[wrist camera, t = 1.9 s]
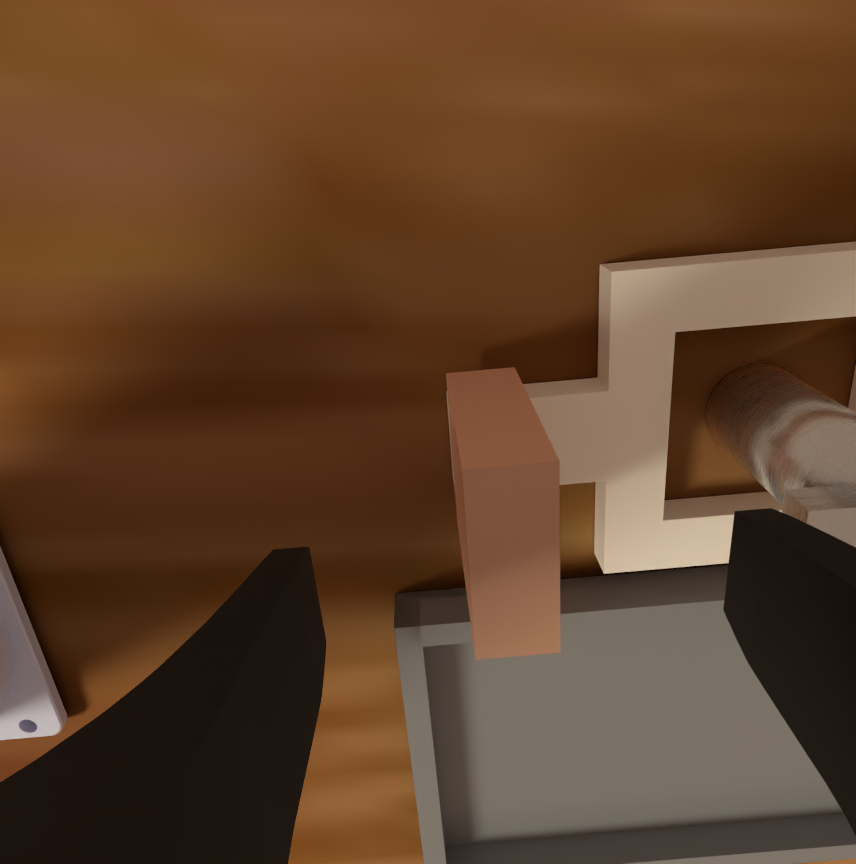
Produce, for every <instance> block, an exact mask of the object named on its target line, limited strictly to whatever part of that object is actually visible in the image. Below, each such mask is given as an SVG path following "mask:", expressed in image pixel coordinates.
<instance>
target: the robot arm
mask: <svg viewBox="0 0 856 864" xmlns="http://www.w3.org/2000/svg"><path fill="white" fill-rule="evenodd" d="M723 611H724V613H725V615H726V617H727V619H728V622H729V624H730V626H731V628H732V631H733V633H734V635H735V637H736V640H737V642H738V644H739V646H740V648H741V650H742V652H743V654H744V656H745V658H746V660H747V662H748V664H749V665H750V667H751V669H752V670H753V672H754V673H755V675H756V677H757V678H758V680H759V681H760V683H761V684H762V686H763V688H764V689H765V691H766V692H767V694H768V695H769V697H770V699H771V700H772V702H773V703H774V705H775V706H776V708H777V709H778V711H779V712H780V714H781V716H782V717H783V719H784V720H785V722H786V723H787V725H788V726H789V728H790V729H791V731H792V732H793V734H794V735H795V737H796V738H797V740H798V742H799V743H800V745H801V746H802V748H803V749H804V751H805V752H806V754H807V755H808V757H809V758H810V760H811V761H812V763H813V765H814V766H815V768H816V769H817V771H818V772H819V774H820V775H821V777H822V778H823V780H824V781H825V783H826V784H827V786H828V788H829V789H830V791H831V793H832V794H833V796H834V798H835V800H836V801H837V803H838V805H839V806H840V808H841V810H842V811H843V813H844V815H845V817H846V818H847V820H848V822H849V824H850V826H851V828H852V830H853V832H854V834H855V836H856V547H854V546H852V545H850V544H848V543H846V542H844V541H842V540H840V539H838V538H836V537H834V536H832V535H830V534H827V533H825V532H823V531H821V530H819V529H817V528H815V527H813V526H811V525H809V524H807V523H805V522H803V521H800V520H798V519H796V518H794V517H792V516H789V515H787V514H785V513H782V512H780V511H777V510H775V509H772V508H767V509H755V510H743V511H735V512H734V521H733V530H732V538H731V547H730V556H729V564H728V573H727V582H726V591H725V599H724V608H723ZM325 653H326V638H325V632H324V627H323V621H322V616H321V610H320V605H319V599H318V594H317V588H316V583H315V577H314V572H313V566H312V561H311V555H310V549H309V547H299V548H287V549H275V550H273V551H272V552H271V553H270V554H269V555H268V556H267V557H266V558H265V559H264V560H263V561H262V562H261V564H260V565H259V566H258V567H257V568H256V569H255V570H254V571H253V572H252V573H251V574H250V576H249V577H248V578H247V579H246V580H245V581H244V582H243V583H242V584H241V586H240V587H239V588H238V589H237V590H236V591H235V592H234V593H233V594H232V595H231V596H230V598H229V599H228V600H227V601H226V602H225V603H224V604H223V605H222V606H221V607H220V608H219V609H218V610H217V611H216V612H215V613H214V615H213V616H212V617H211V618H210V619H209V620H208V621H207V622H206V623H205V624H204V625H203V626H202V627H201V628H200V629H199V630H198V631H197V632H196V633H194V634H193V635H192V636H191V637H190V638H189V639H188V640H187V641H186V642H185V643H184V644H183V645H182V646H181V647H180V648H179V649H178V650H177V651H176V652H175V653H174V654H173V655H172V656H170V657H169V658H168V659H167V660H166V661H165V662H164V663H163V664H162V665H161V666H160V667H159V668H157V669H156V670H155V671H154V672H153V673H152V674H151V675H149V676H148V677H147V678H146V679H145V680H143V681H142V682H141V683H140V684H139V685H138V686H136V687H135V688H134V689H133V690H131V691H130V692H129V693H128V694H126V695H125V696H124V697H123V698H121V699H120V700H119V701H118V702H116V703H115V704H114V705H113V706H111V707H110V708H109V709H107V710H106V711H105V712H103V713H102V714H101V715H100V716H98V717H97V718H95V719H94V720H93V721H91V722H90V723H88V724H87V725H85V726H84V727H83V728H81V729H80V730H78V731H77V732H75V733H74V734H73V735H71V736H70V737H68V738H67V739H65V740H64V741H63V742H61V743H60V744H58V745H57V746H55V747H54V748H53V749H51V750H50V751H48V752H47V753H45V754H44V755H43V756H41V757H40V758H38V759H37V760H35V761H34V762H32V763H31V764H29V765H27V766H26V767H24V768H23V769H21V770H19V771H18V772H16V773H15V774H13V775H11V776H10V777H8V778H7V779H5V780H4V781H2V782H0V864H288V859H289V853H290V847H291V841H292V836H293V830H294V825H295V820H296V815H297V811H298V806H299V801H300V797H301V792H302V788H303V783H304V778H305V774H306V769H307V764H308V760H309V755H310V751H311V746H312V741H313V737H314V732H315V727H316V722H317V717H318V713H319V708H320V703H321V698H322V688H323V678H324V666H325ZM30 720H31V721H30ZM32 721H33V722H32ZM66 721H67V713H66V711H65V708H64V706H63V703H62V701H61V698H60V696H59V693H58V691H57V688H56V686H55V683H54V681H53V678H52V676H51V673H50V670H49V668H48V665H47V663H46V660H45V658H44V655H43V653H42V650H41V648H40V645H39V643H38V640H37V638H36V635H35V633H34V630H33V628H32V625H31V622H30V620H29V617H28V615H27V612H26V610H25V607H24V605H23V602H22V600H21V597H20V595H19V592H18V590H17V587H16V585H15V582H14V580H13V577H12V575H11V572H10V569H9V567H8V564H7V562H6V559H5V557H4V554H3V552H2V549H1V547H0V740H6V739H18V738H30V737H42V736H52V735H56V734H58V733H59V732H60V731H61V730H62V728H63V727H64V725H65V723H66Z"/></svg>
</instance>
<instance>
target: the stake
mask: <svg viewBox="0 0 856 864" xmlns="http://www.w3.org/2000/svg"><path fill="white" fill-rule="evenodd" d="M705 419H706V425H707V428H708V431H709V433H710V434H711V436H712V437H713V438H714V439H715V440H716V441H717V442H718V443H719V444H720V445H721V446H722V447H723V448H724V449H725V450H726V451H727V452H728V453H729V454H730V455H731V456H732V457H733V458H734V459H735V460H736V461H737V462H738V463H739V464H740V465H741V466H742V467H743V468H744V469H745V470H747V471H748V472H749V473H750V474H751V475H752V476H753V477H754V478H755V479H756V480H757V481H758V482H759V483H760V484H761V485H762V486H763V487H764V488H765V489H766V490H767V491H768V492H769V493H770V494H771V495H772V496H773V497H774V498H775V499H776V500H778V501H779V502H780V503H781V504H782V505H783V508H782V513H785V514H787V515H789V516H792V517H794V518H796V519H798V520H800V521H803V522H805V523H807V524H809V525H811V526H813V527H815V528H817V529H819V530H821V531H823V532H825V533H827V534H830V535H832V536H834V537H836V538H838V539H840V540H842V541H844V542H846V543H848V544H850V545H852V546H854V547H856V413H855V412H853V411H851V410H850V409H848V408H846V407H845V406H843V405H842V404H840V403H838V402H837V401H835V400H833V399H832V398H830V397H828V396H827V395H825V394H823V393H822V392H820V391H818V390H817V389H815V388H813V387H812V386H810V385H808V384H807V383H805V382H803V381H802V380H800V379H798V378H797V377H795V376H793V375H792V374H790V373H789V372H787V371H785V370H784V369H782V368H780V367H778V366H775V365H771V364H752V365H748V366H744V367H742V368H739V369H737V370H735V371H734V372H732V373H730V374H729V375H727V376H726V377H725V378H724V379H723V380H722V381H721V382H720V383H719V384H718V385H717V386H716V388H715V389H714V390H713V392H712V394H711V395H710V398H709V400H708V403H707V406H706V412H705Z"/></svg>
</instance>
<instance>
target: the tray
mask: <svg viewBox="0 0 856 864" xmlns="http://www.w3.org/2000/svg"><path fill="white" fill-rule="evenodd" d="M727 573H728V565H722V566H710V567H699V568H687V569H675V570H664V571H652V572H640V573H629V574H617V575H605V576H594V577H582V578H570V579H560V646H561V653H549V654H538V655H526V656H514V657H502V658H490V659H479V660H475V653H474V645H473V638H472V630H471V623H470V615H469V607H468V600H467V592H466V587H465V588H453V589H442V590H430V591H418V592H407V593H395V614H394V631H395V639H396V647H397V655H398V662H399V670H400V678H401V686H402V694H403V701H404V709H405V717H406V725H407V733H408V740H409V748H410V756H411V764H412V772H413V779H414V787H415V795H416V803H417V811H418V818H419V826H420V834H421V842H422V850H423V857H424V864H794V863H806V862H819V861H831V860H843V859H855V858H856V836H855V834H854V832H853V830H852V828H851V826H850V824H849V822H848V820H847V818H846V817H845V815H844V813H843V811H842V810H841V808H840V806H839V805H838V803H837V801H836V800H835V798H834V796H833V794H832V793H831V791H830V789H829V788H828V786H827V784H826V783H825V781H824V780H823V778H822V777H821V775H820V774H819V772H818V771H817V769H816V768H815V766H814V765H813V763H812V761H811V760H810V758H809V757H808V755H807V754H806V752H805V751H804V749H803V748H802V746H801V745H800V743H799V742H798V740H797V738H796V737H795V735H794V734H793V732H792V731H791V729H790V728H789V726H788V725H787V723H786V722H785V720H784V719H783V717H782V716H781V714H780V712H779V711H778V709H777V708H776V706H775V705H774V703H773V702H772V700H771V699H770V697H769V695H768V694H767V692H766V691H765V689H764V688H763V686H762V684H761V683H760V681H759V680H758V678H757V677H756V675H755V673H754V672H753V670H752V669H751V667H750V665H749V664H748V662H747V660H746V658H745V656H744V654H743V652H742V650H741V648H740V646H739V644H738V642H737V640H736V637H735V635H734V633H733V631H732V628H731V626H730V624H729V622H728V619H727V617H726V615H725V613H724V611H723V608H724V599H725V591H726V582H727Z"/></svg>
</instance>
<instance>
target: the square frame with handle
mask: <svg viewBox="0 0 856 864" xmlns="http://www.w3.org/2000/svg"><path fill="white" fill-rule="evenodd" d="M854 316H856V242H845V243H834V244H822V245H811V246H800V247H788V248H777V249H766V250H755V251H743V252H732V253H721V254H710V255H698V256H687V257H676V258H664V259H653V260H642V261H631V262H619V263H608V264H600V272H599V325H598V378H588V379H576V380H565V381H553V382H542V383H531V384H523V383H522V381H521V379H520V377H519V375H518V373H517V371H516V369H515V367H511V368H499V369H488V370H477V371H465V372H454V373H446V380H447V391H446V395H447V408H448V421H449V434H450V447H451V461H452V474H453V482H454V489H455V499H456V512H457V524H458V531H459V539H460V547H461V554H462V562H463V569H464V577H465V585H466V592H467V600H468V607H469V615H470V623H471V630H472V638H473V645H474V653H475V660H479V659H490V658H502V657H514V656H526V655H538V654H549V653H561V646H560V485H566V484H578V483H590V482H596V485H595V538H594V553H595V556H596V558H597V560H598V562H599V564H600V567H601V569H602V571H603V573H604V574H607V573H619V572H631V571H642V570H654V569H666V568H677V567H689V566H701V565H712V564H724V563H729V556H730V547H731V538H732V530H733V521H734V512H735V511H743V510H755V509H767V508H772V509H775V510H777V511H780V512H782V508H783V505H782V504H781V503H780V502H779V501H778V500H776V499H775V498H774V497H773V496H772V495H771V494H770V493H769V492H768V491H767V492H756V493H744V494H732V495H721V496H709V497H698V498H686V499H674V500H664V498H665V482H666V467H667V452H668V437H669V421H670V406H671V391H672V375H673V360H674V345H675V332H683V331H694V330H706V329H717V328H729V327H740V326H751V325H763V324H774V323H785V322H797V321H808V320H820V319H831V318H842V317H854ZM848 409H850V410H851V411H853V412H855V413H856V366H855V371H854V377H853V383H852V388H851V394H850V399H849V405H848Z"/></svg>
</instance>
